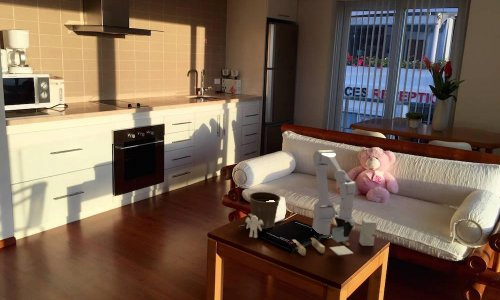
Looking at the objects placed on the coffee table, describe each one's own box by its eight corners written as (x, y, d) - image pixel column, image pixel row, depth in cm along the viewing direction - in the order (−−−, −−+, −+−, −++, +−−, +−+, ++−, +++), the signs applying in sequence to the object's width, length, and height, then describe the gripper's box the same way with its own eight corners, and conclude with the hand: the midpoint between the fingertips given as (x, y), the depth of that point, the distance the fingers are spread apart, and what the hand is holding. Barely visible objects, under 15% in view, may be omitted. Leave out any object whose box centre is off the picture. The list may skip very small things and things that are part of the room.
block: (343, 235, 212) (343, 226, 210) (348, 239, 207) (348, 229, 206) (332, 238, 210) (332, 228, 208) (337, 242, 205) (337, 232, 204)
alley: (291, 245, 213) (292, 239, 212) (312, 243, 217) (313, 237, 216) (302, 255, 203) (302, 249, 202) (324, 252, 207) (325, 247, 206)
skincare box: (362, 245, 217) (365, 222, 215) (358, 242, 222) (361, 219, 219) (374, 245, 218) (377, 222, 216) (370, 242, 223) (373, 219, 220)
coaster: (329, 248, 212) (329, 247, 212) (343, 246, 215) (344, 245, 215) (338, 255, 205) (338, 254, 205) (353, 253, 208) (353, 252, 208)
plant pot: (275, 233, 225) (277, 203, 222) (244, 229, 228) (246, 199, 225) (279, 222, 241) (282, 194, 238) (250, 218, 244) (252, 190, 241)
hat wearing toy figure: (243, 236, 220) (245, 213, 217) (245, 233, 223) (247, 211, 221) (261, 239, 217) (262, 216, 215) (263, 236, 221) (264, 213, 218)
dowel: (334, 237, 226) (334, 234, 225) (336, 237, 226) (337, 234, 226) (346, 246, 215) (347, 243, 215) (349, 246, 216) (350, 243, 215)
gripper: (330, 202, 211) (327, 229, 214) (347, 213, 197) (344, 241, 200) (343, 201, 213) (340, 227, 216) (361, 212, 200) (357, 240, 203)
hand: (343, 234), depth 208 cm, fingers closed on block, 4 cm apart
